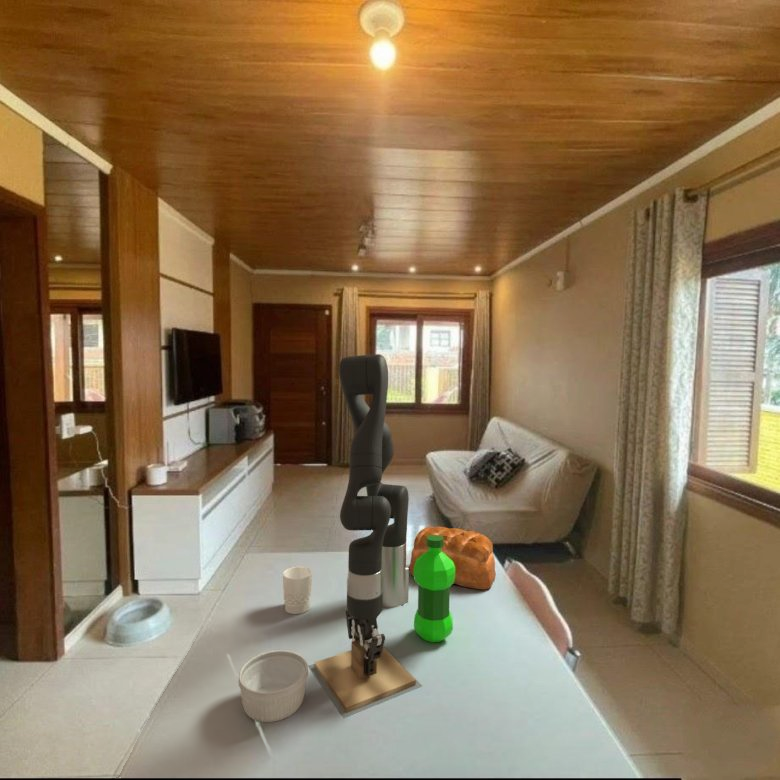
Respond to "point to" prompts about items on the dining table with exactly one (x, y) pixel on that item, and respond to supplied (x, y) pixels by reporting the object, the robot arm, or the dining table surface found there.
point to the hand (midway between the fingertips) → (363, 667)
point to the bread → (461, 555)
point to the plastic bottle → (434, 591)
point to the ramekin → (273, 685)
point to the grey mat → (364, 705)
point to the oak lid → (362, 677)
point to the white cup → (297, 589)
